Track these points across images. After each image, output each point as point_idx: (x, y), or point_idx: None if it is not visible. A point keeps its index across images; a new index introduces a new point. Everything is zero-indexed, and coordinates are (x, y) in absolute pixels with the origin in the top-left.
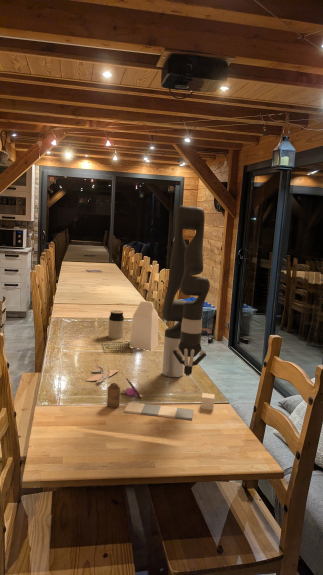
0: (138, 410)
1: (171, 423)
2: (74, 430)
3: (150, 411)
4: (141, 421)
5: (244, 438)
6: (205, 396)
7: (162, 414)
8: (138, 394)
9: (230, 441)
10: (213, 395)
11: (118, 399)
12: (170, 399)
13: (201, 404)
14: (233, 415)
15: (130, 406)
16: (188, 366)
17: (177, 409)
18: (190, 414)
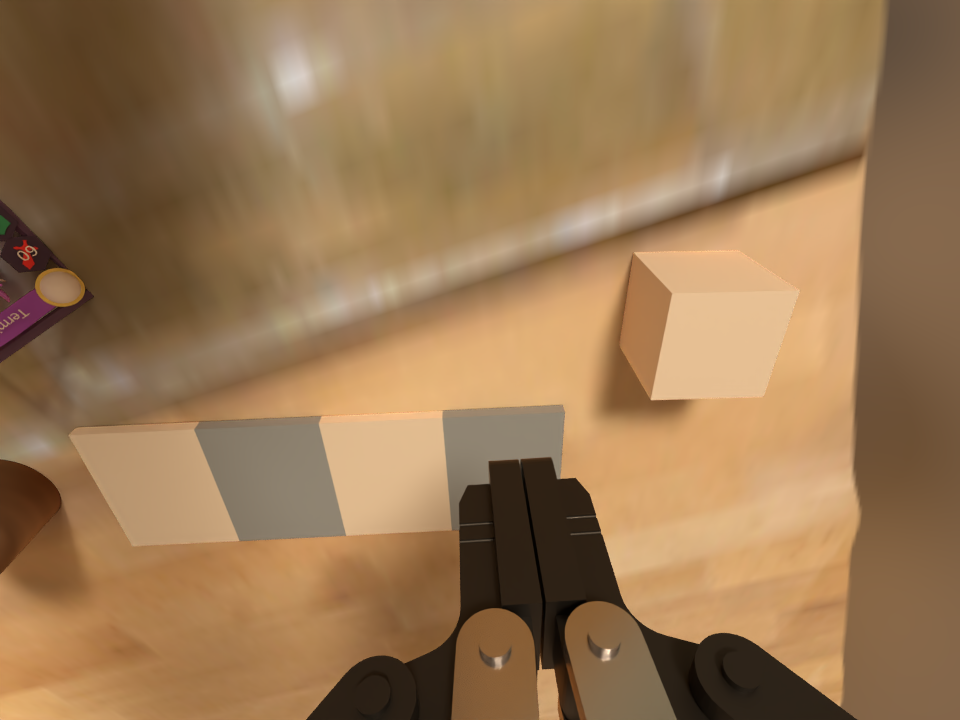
0: (211, 525)
1: (446, 574)
2: (71, 710)
3: (287, 517)
4: (289, 594)
5: (803, 600)
6: (688, 373)
7: (372, 529)
8: (42, 332)
9: (727, 632)
10: (778, 323)
11: (16, 549)
12: (340, 235)
13: (631, 363)
14: (847, 386)
15: (127, 491)
16: (544, 666)
17: (449, 443)
18: None
